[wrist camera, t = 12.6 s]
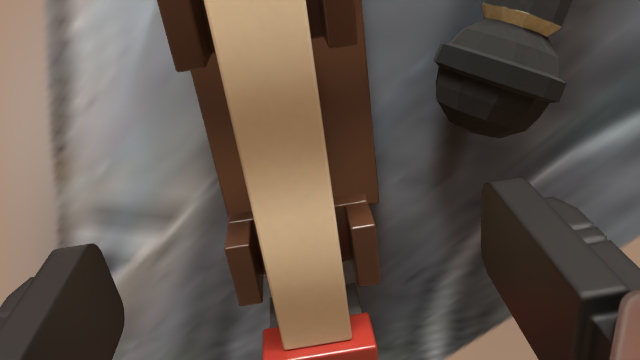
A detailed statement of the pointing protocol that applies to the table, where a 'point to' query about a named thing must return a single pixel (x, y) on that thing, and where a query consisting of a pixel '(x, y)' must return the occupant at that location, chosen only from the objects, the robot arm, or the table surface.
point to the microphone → (502, 67)
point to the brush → (288, 179)
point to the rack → (338, 123)
